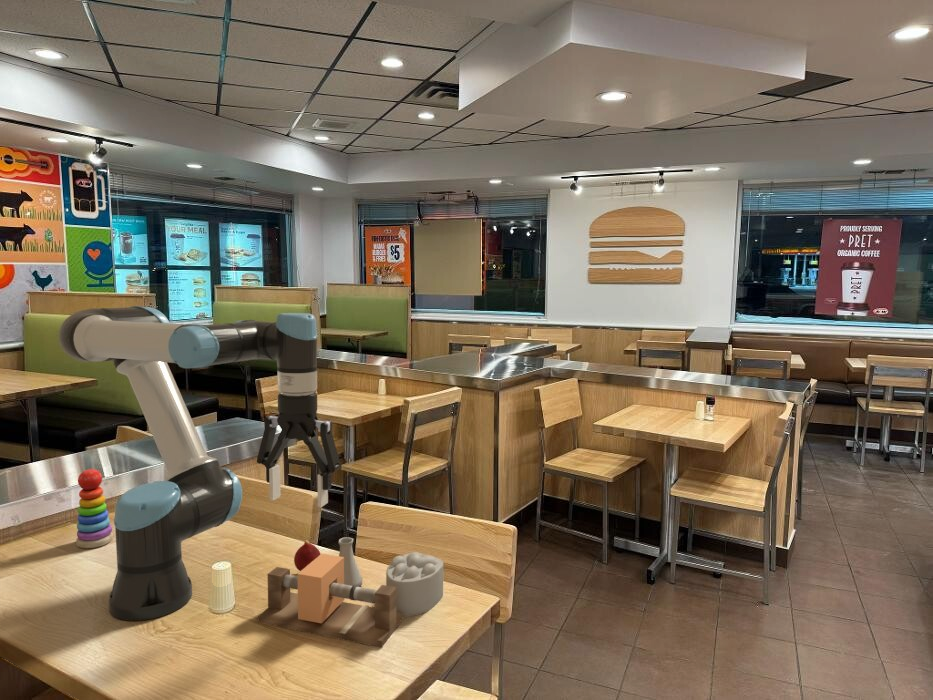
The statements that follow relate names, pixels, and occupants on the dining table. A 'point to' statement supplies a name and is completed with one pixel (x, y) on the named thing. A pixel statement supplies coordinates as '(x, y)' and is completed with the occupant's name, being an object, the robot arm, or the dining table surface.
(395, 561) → the lumpy-topped squat cylinder
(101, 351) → the robot arm
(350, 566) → the flask
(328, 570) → the collar
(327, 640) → the dining table surface
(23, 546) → the dining table surface
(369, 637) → the pipe stand
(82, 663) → the dining table surface
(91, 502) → the stacking toy
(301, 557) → the onion
